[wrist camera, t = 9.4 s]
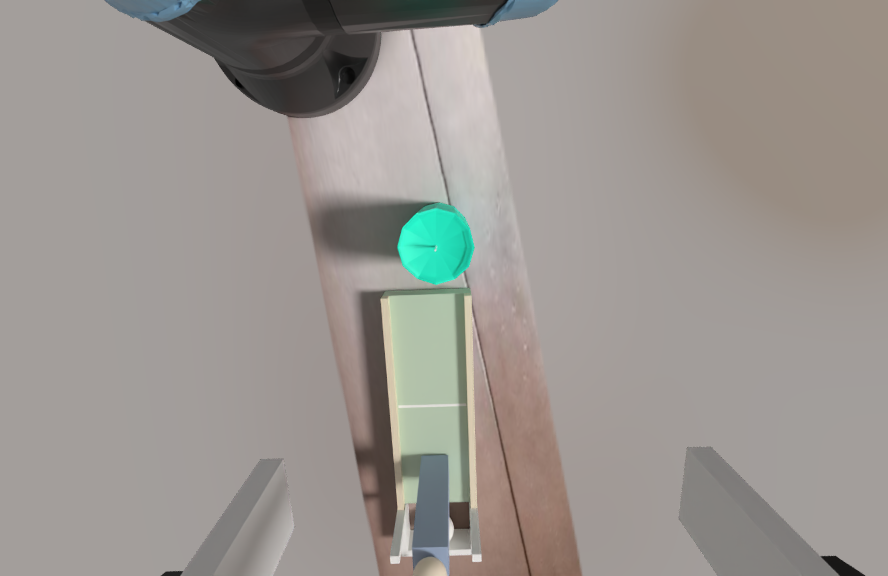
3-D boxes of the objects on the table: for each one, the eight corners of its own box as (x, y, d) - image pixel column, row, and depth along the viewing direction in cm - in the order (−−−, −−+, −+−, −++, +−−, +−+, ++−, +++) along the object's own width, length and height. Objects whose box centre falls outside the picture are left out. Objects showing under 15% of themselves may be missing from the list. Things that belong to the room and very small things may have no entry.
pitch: (385, 291, 44) (380, 298, 41) (470, 288, 44) (471, 295, 41) (400, 491, 50) (397, 510, 47) (475, 489, 50) (476, 508, 47)
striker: (421, 455, 46) (408, 579, 32) (448, 454, 46) (447, 578, 31) (422, 478, 47) (411, 609, 32) (449, 477, 47) (449, 608, 32)
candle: (398, 221, 42) (379, 235, 30) (450, 191, 41) (450, 193, 30) (428, 271, 43) (421, 303, 32) (478, 243, 42) (490, 265, 31)
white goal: (400, 491, 50) (390, 556, 41) (475, 489, 50) (481, 554, 41) (403, 535, 51) (394, 607, 43) (476, 533, 51) (482, 605, 42)
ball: (425, 516, 51) (423, 509, 49) (453, 515, 51) (453, 508, 49) (425, 549, 49) (422, 543, 47) (454, 548, 49) (453, 542, 46)
